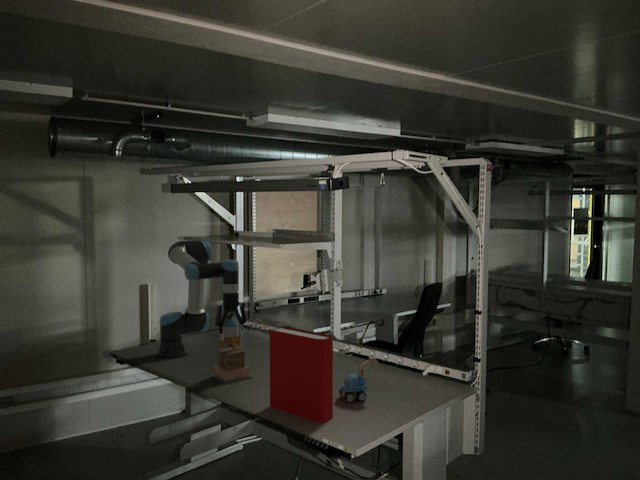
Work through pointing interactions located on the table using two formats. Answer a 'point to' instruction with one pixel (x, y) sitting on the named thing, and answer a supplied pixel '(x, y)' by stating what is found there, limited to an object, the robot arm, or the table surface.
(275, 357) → the book
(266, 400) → the table surface
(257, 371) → the table surface
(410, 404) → the table surface
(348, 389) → the toy excavator
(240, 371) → the build base
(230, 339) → the toy rocket
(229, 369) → the walnut brick
